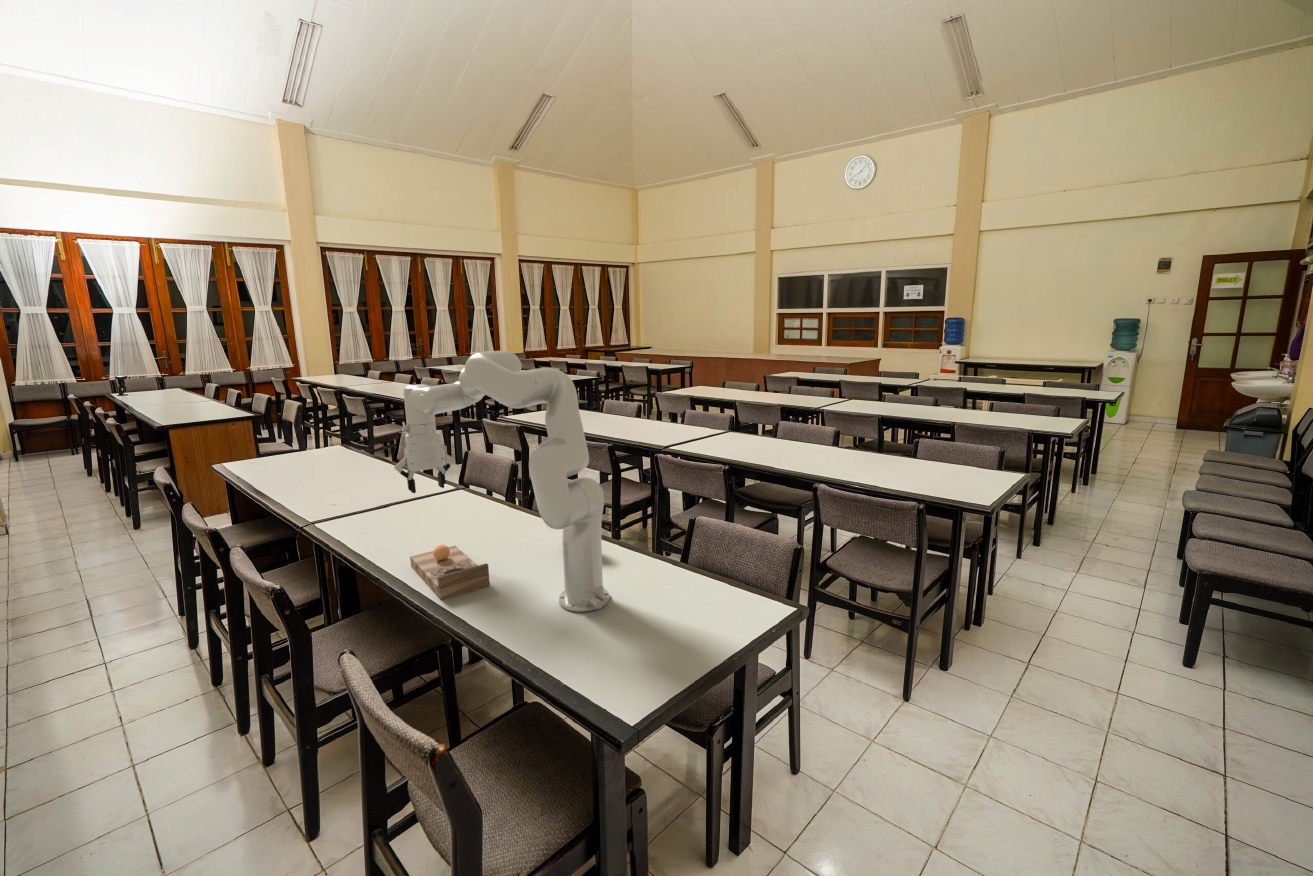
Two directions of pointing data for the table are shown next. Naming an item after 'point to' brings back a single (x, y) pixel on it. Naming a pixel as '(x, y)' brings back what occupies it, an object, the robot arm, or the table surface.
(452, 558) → the brown piece
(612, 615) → the table surface
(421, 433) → the robot arm
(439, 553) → the ball
